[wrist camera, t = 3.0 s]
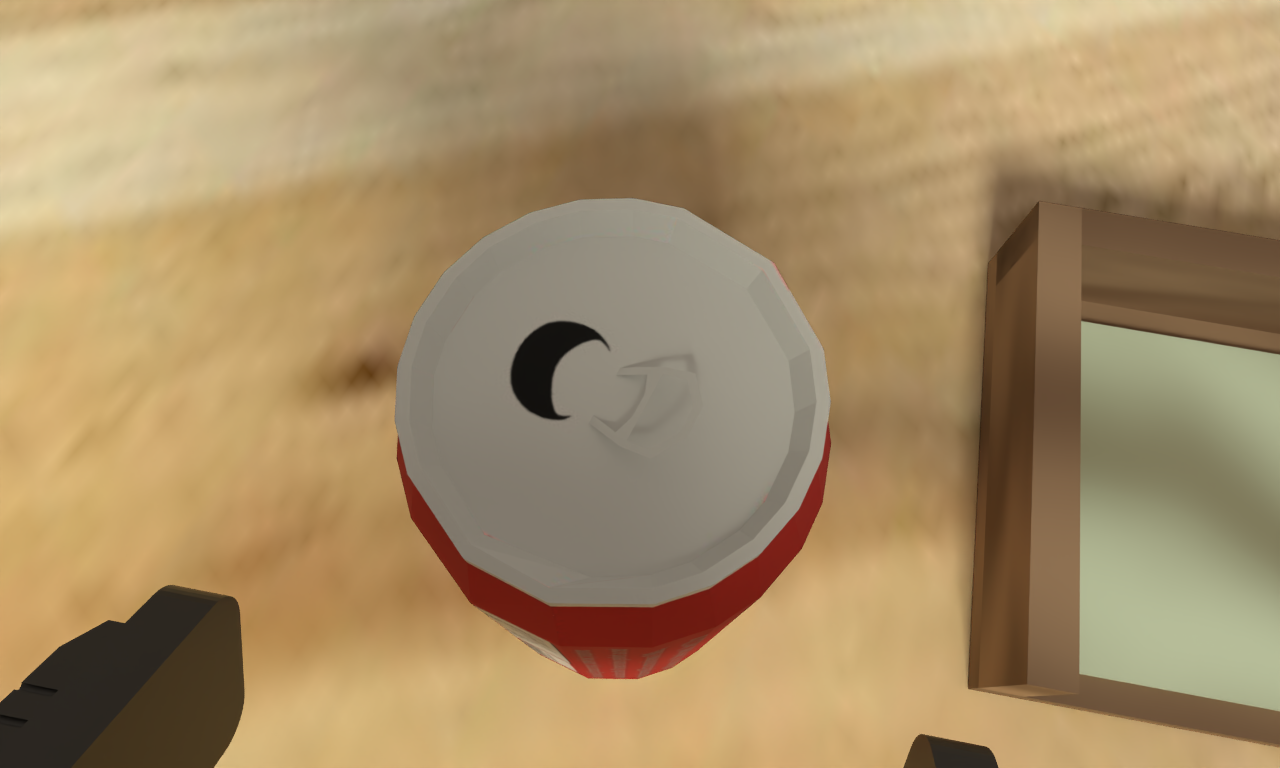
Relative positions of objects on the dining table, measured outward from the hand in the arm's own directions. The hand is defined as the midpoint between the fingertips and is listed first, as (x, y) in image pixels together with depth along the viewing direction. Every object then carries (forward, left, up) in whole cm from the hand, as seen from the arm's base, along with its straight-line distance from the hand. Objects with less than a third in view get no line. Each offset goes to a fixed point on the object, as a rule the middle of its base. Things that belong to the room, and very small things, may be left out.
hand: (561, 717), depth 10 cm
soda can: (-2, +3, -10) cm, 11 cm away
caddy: (+6, +15, -10) cm, 19 cm away
